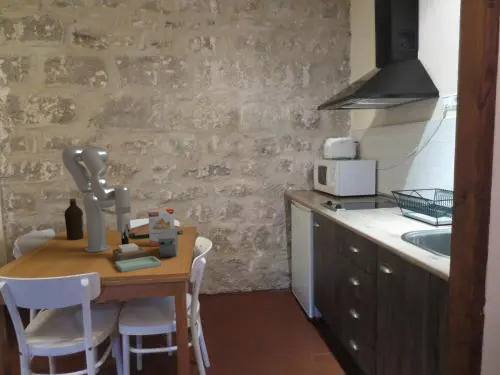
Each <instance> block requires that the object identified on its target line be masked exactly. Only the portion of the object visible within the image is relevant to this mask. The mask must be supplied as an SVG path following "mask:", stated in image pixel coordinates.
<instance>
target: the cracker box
mask: <svg viewBox="0 0 500 375" xmlns="http://www.w3.org/2000/svg"><path fill="white" fill-rule="evenodd" d="M174 210H175V208H174V207H164V208H163V207H161V208H149V209H148V223H149V234H148V239H149V247H151V248H152V247H159V244H160V242H159V237H160V235H161V232H162V230H163V229H171V228H174V225H175V211H174Z"/></svg>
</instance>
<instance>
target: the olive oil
mask: <svg viewBox="0 0 500 375" xmlns="http://www.w3.org/2000/svg"><path fill="white" fill-rule="evenodd" d="M63 217H64V222H65V230H66V231H65V233H66V239H67V240H68V241H77V240H82V239H83V238H84V212H83V210H82V208H80V207H79V206H78V205H77V201H76V198H69V206H68V207H67V208H66V209H65V211H64V215H63Z"/></svg>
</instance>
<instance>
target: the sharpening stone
mask: <svg viewBox="0 0 500 375" xmlns="http://www.w3.org/2000/svg"><path fill="white" fill-rule="evenodd" d="M178 233H179V231H178V228H171V229H163V230H162V232H161V235H160V237H159V242H160V244H159V246H158V251H159V255H160V257H161V258H170V257H171V258H173V257H178V256H177V255H178V250H179V249H178V248H179V247H178V246H179V243H178V242H179V236H178Z"/></svg>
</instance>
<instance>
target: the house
mask: <svg viewBox="0 0 500 375" xmlns="http://www.w3.org/2000/svg"><path fill="white" fill-rule="evenodd" d="M174 228H178V233H179V234H180V235H182V234H183V233H184V232H183V231H184V229H183V228H182V227H180V225H175V224H174ZM128 234H130V235H131V236H130V237H131V238H135V239H136V240H138V238H143V239H144V238H145V239H147V237H149V222H148V223H144V224H141V225H137V226H134V227H131V231H130V232H128ZM143 236H144V237H143Z"/></svg>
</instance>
